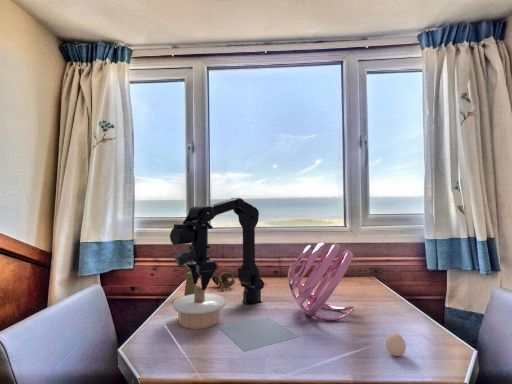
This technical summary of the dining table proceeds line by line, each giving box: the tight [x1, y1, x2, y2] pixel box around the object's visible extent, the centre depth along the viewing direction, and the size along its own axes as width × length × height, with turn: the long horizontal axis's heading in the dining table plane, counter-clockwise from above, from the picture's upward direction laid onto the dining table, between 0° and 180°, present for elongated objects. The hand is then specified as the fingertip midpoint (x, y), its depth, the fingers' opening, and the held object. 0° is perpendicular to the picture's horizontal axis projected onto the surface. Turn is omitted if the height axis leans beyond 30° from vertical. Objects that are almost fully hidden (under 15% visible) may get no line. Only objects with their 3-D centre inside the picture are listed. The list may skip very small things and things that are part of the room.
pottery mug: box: [211, 271, 236, 291], centre depth 151 cm, size 12×10×8 cm
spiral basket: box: [287, 241, 355, 322], centre depth 115 cm, size 28×28×27 cm
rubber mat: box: [217, 316, 300, 353], centre depth 99 cm, size 19×19×1 cm
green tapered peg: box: [183, 270, 197, 296], centre depth 137 cm, size 6×6×11 cm
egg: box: [385, 332, 407, 357], centre depth 85 cm, size 5×5×6 cm
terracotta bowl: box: [177, 309, 221, 330], centre depth 109 cm, size 14×14×6 cm
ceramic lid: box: [172, 284, 226, 314], centre depth 109 cm, size 18×18×6 cm
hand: (199, 286), depth 109 cm, fingers open, 9 cm apart
